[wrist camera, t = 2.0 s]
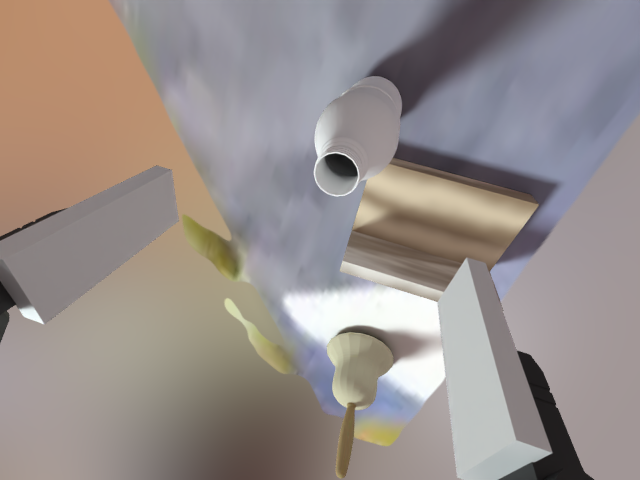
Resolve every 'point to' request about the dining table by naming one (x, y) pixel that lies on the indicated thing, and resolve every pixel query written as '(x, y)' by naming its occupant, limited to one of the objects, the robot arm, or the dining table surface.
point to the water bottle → (357, 135)
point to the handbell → (355, 382)
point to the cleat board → (430, 227)
